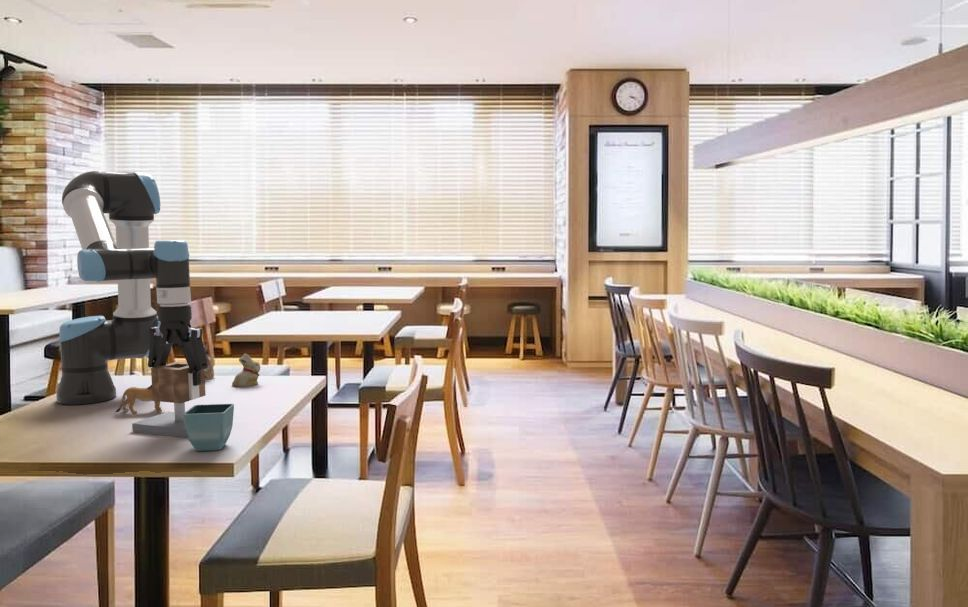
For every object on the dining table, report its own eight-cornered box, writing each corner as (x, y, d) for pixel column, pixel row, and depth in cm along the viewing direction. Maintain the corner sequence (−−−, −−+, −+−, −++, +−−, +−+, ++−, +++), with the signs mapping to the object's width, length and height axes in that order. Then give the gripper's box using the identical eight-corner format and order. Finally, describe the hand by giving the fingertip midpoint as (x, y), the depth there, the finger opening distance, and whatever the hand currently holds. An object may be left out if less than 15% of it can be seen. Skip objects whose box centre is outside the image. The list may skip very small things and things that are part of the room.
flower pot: (196, 442, 167) (194, 404, 167) (236, 441, 168) (234, 403, 167) (184, 454, 159) (182, 413, 158) (226, 453, 159) (224, 412, 159)
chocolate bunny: (256, 386, 226) (255, 354, 225) (230, 386, 226) (229, 354, 225) (261, 382, 232) (260, 351, 231) (237, 382, 232) (235, 351, 231)
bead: (152, 401, 176) (150, 368, 175) (177, 393, 184) (176, 361, 183) (181, 403, 174) (179, 369, 173) (205, 395, 181) (203, 363, 181)
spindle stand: (132, 431, 177) (129, 378, 176) (168, 419, 188) (166, 369, 187) (193, 438, 171) (190, 383, 170) (227, 424, 182) (225, 373, 181)
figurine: (185, 379, 237) (183, 342, 236) (202, 375, 244) (200, 339, 243) (202, 381, 235) (200, 344, 233) (218, 377, 241) (217, 340, 240)
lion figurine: (175, 406, 202) (173, 374, 201) (175, 410, 197) (174, 377, 196) (115, 412, 196) (113, 378, 195) (114, 416, 191) (112, 382, 190)
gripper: (127, 305, 176) (132, 398, 179) (199, 307, 169) (204, 403, 172) (150, 302, 183) (155, 391, 186) (221, 304, 177) (225, 396, 179)
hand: (179, 397), depth 179 cm, fingers closed on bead, 8 cm apart
